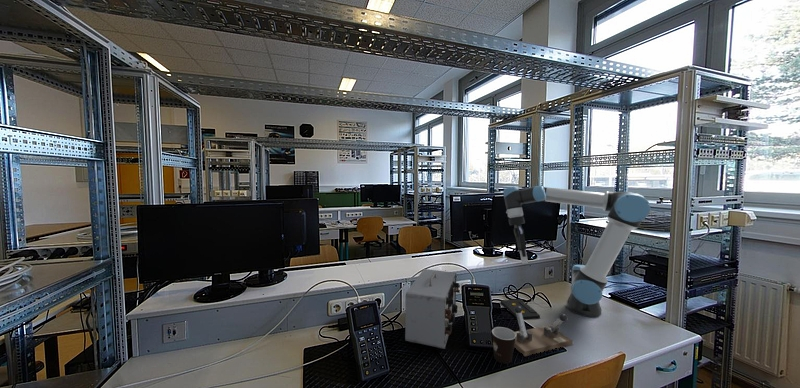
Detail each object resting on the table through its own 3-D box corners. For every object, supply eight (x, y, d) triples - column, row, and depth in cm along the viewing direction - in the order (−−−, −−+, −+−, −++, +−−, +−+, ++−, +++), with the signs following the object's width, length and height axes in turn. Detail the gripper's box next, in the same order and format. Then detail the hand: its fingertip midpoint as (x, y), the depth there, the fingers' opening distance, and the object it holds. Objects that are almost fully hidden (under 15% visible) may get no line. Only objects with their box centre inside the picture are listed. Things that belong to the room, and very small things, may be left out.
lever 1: (525, 337, 118) (517, 305, 122) (530, 338, 115) (522, 305, 119) (519, 338, 117) (511, 306, 121) (524, 339, 114) (516, 306, 119)
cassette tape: (540, 319, 138) (540, 315, 138) (518, 320, 137) (518, 316, 137) (520, 302, 156) (520, 298, 156) (500, 303, 155) (500, 299, 154)
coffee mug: (517, 367, 104) (518, 341, 103) (492, 364, 105) (493, 338, 104) (511, 347, 115) (512, 324, 114) (489, 345, 117) (489, 322, 116)
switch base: (548, 329, 128) (549, 318, 128) (572, 344, 117) (572, 333, 117) (504, 338, 121) (504, 327, 121) (524, 356, 110) (525, 344, 109)
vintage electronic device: (449, 354, 111) (450, 292, 109) (405, 345, 117) (405, 286, 115) (459, 315, 141) (460, 266, 139) (424, 309, 146) (424, 262, 144)
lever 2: (550, 327, 123) (565, 311, 116) (555, 333, 121) (570, 318, 114) (545, 328, 122) (559, 312, 115) (549, 335, 120) (564, 319, 113)
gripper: (506, 218, 154) (514, 263, 150) (510, 216, 141) (520, 265, 137) (520, 216, 153) (529, 261, 148) (526, 214, 140) (536, 263, 136)
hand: (525, 263), depth 143 cm, fingers closed
